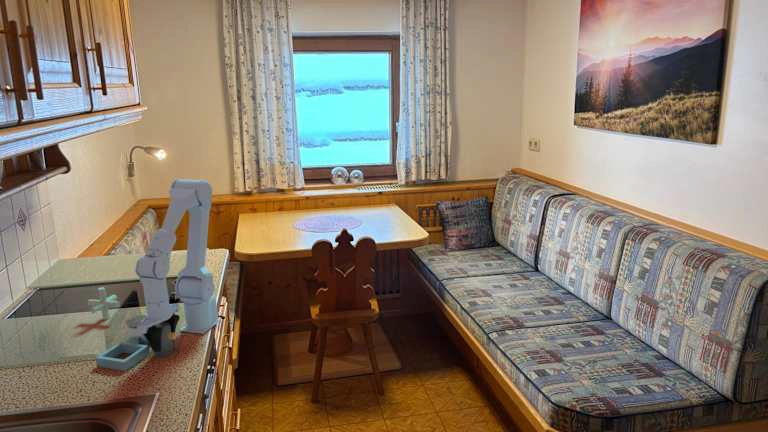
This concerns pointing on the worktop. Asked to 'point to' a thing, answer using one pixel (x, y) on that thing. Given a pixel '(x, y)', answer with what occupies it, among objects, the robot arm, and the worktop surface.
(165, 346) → the dark grey rounded cylinder
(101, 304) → the pipe connector
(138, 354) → the light blue shallow tray
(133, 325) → the motor
